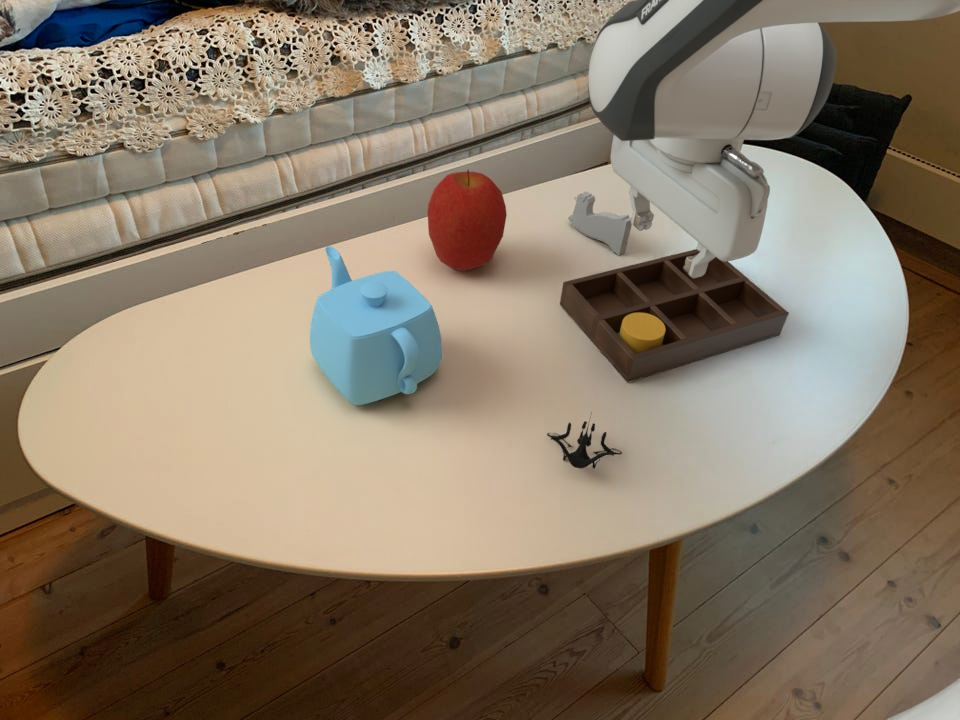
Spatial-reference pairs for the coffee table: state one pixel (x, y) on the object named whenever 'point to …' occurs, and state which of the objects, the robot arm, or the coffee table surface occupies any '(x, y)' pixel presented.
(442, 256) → the apple
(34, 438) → the coffee table surface
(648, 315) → the cylinder
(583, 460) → the creature
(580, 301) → the grid
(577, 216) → the grey flat piece
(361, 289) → the teapot
